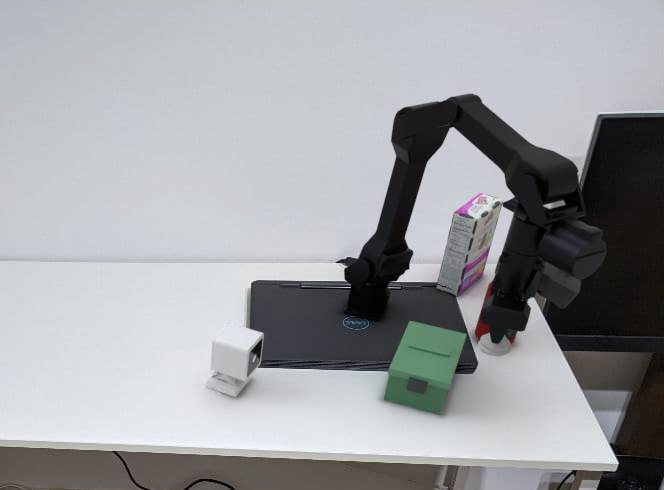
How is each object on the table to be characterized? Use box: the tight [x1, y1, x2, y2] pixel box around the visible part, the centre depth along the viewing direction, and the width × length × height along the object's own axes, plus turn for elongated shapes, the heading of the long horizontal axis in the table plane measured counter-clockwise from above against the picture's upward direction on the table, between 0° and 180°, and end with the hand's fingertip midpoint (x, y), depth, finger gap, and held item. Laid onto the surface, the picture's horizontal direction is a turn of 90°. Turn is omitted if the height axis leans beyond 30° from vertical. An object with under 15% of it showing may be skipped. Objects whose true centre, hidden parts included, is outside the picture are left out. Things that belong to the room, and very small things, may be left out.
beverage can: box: [474, 278, 529, 346], centre depth 148 cm, size 7×7×12 cm
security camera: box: [205, 322, 265, 397], centre depth 138 cm, size 6×7×10 cm
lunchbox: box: [383, 320, 468, 416], centre depth 140 cm, size 9×16×7 cm, turn 153°
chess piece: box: [477, 333, 511, 357], centre depth 130 cm, size 5×5×8 cm
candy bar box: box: [435, 192, 504, 297], centre depth 162 cm, size 11×5×16 cm, turn 137°
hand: (496, 337), depth 131 cm, fingers closed on chess piece, 3 cm apart
